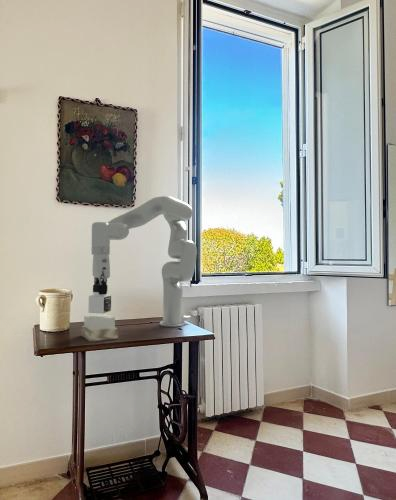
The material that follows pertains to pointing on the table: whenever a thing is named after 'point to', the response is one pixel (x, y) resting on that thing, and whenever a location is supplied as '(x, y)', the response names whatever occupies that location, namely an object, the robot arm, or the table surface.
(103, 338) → the tower base block
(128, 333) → the table surface
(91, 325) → the tower top block
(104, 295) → the medicine bottle
